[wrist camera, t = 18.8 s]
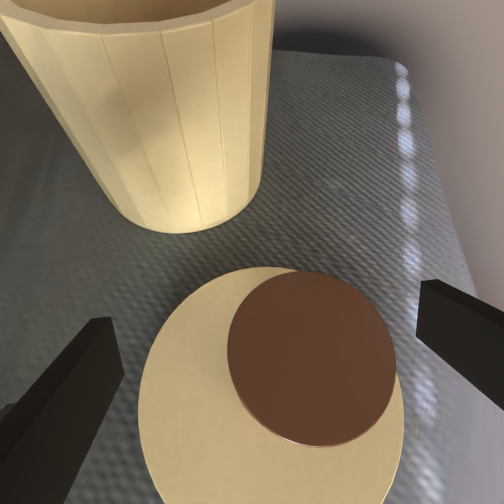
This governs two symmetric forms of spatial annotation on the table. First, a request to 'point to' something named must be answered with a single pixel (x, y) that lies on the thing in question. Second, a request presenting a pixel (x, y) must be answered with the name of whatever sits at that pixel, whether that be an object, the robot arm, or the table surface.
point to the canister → (155, 98)
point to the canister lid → (272, 394)
